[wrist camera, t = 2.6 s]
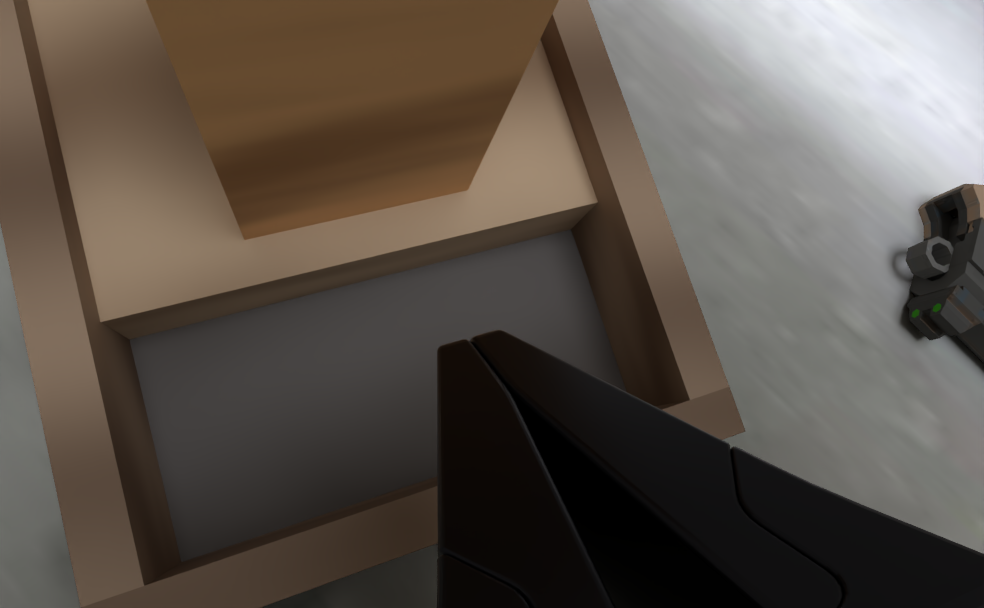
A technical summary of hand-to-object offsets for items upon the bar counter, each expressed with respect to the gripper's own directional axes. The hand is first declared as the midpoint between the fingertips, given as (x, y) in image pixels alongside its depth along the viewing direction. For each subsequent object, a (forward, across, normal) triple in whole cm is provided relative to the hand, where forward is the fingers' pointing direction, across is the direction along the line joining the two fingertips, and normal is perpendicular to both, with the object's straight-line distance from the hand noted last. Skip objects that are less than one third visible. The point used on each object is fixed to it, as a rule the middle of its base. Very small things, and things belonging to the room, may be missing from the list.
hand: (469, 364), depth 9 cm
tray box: (+14, 0, -2) cm, 14 cm away
